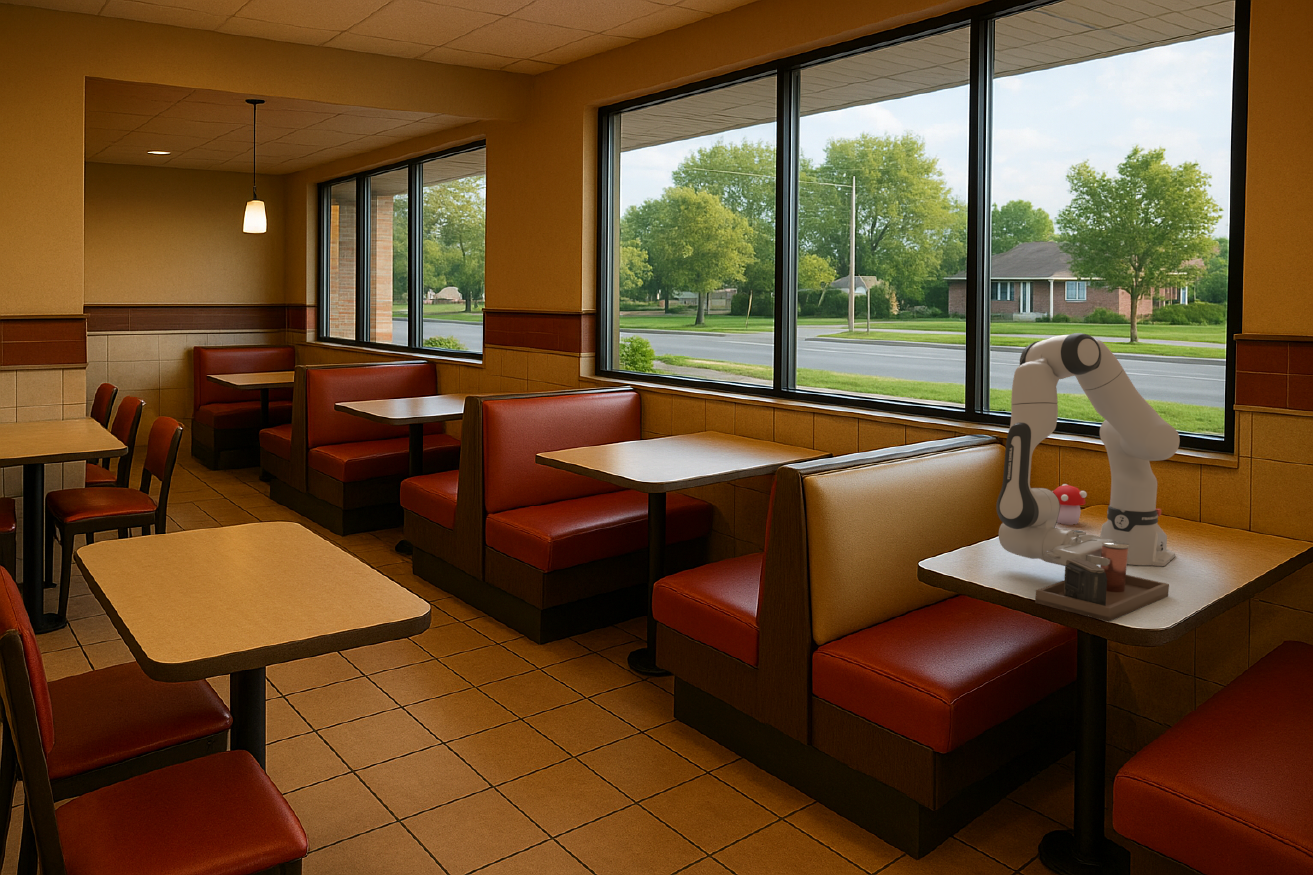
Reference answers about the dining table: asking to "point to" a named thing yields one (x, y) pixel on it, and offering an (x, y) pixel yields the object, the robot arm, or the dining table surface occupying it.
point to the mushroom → (1069, 503)
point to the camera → (1085, 581)
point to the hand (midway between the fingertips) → (1118, 558)
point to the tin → (1115, 564)
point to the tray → (1117, 603)
